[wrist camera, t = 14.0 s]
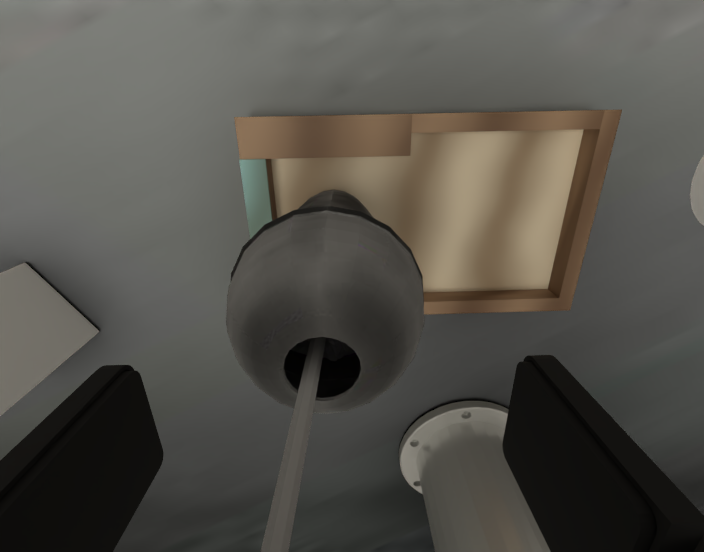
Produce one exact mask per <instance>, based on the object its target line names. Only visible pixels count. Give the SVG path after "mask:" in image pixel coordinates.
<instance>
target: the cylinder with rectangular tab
mask: <svg viewBox="0 0 704 552" xmlns="http://www.w3.org/2000/svg"><path fill="white" fill-rule="evenodd" d="M690 200H691V207H692V211H693V213H694V215H695V216H696V218H697V220H698V222H700V223H701V224H702V225H703V226H704V155H703V157H702V158H701V160H700V162H699V163H698V166H697V169H696V171H695V174H694V176H693V179H692V184H691V192H690Z"/></svg>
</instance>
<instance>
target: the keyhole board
mask: <svg viewBox="0 0 704 552" xmlns="http://www.w3.org/2000/svg"><path fill="white" fill-rule="evenodd" d="M621 112H622V110H583V111H532V112H481V113H429V114H378V115H327V116H275V117H234V119H235V126H236V133H237V140H238V148H239V155H240V160H239V162H240V169H241V176H242V183H243V190H244V198H245V205H246V212H247V219H248V226H249V234H250V239H251V238H252V237H253V236H254V235H255V234H256V233H257V232H258V231H259V230H260V229H261V228H262V227H263V226H264V225H265V224H267V223H269V222H271V221H273V220H275V219H277V218H279V217H281V216H283V215H285V214H287V213H289V212H291V211H293V210H297V209H298V208H299V207H300V206H302V205H303V204H304V203H305V202H306V201H307V200H308V199H309V198H311V197H313V196H314V195H316V194H318V193H320V192H322V191H327V190H334V189H335V190H340V191H345V192H347V193H349V194H351V195H353V196H355V198H357V199H358V200H359V201H360V202H361V203H362V204H363V205H364V206H365V207H366V209H367V210H368V211H369V212H370V214H371V215H372V216H373V218H375V219H377V220H378V221H380V222H382V223H384V224H386V225H388V226H390V227H391V228H392V229H393V231H394V232H395V233H396V234H397V235H398V236H399V237H400V238H401V239H402V240H403V241H404V242H405V243H406V244H407V245H408V246H409V248H410V249H411V250H412V253H413V255H414V257H415V260H416V262H417V264H418V266H419V269H420V271H421V273H422V277H423V294H424V314H456V313H490V312H525V311H560V310H570V308H571V304H572V300H573V297H574V293H575V289H576V285H577V281H578V277H579V273H580V270H581V266H582V262H583V258H584V254H585V250H586V247H587V243H588V239H589V235H590V231H591V227H592V224H593V220H594V216H595V212H596V208H597V204H598V201H599V197H600V193H601V189H602V185H603V181H604V178H605V174H606V170H607V166H608V162H609V158H610V155H611V151H612V147H613V143H614V139H615V135H616V131H617V128H618V124H619V120H620V116H621Z"/></svg>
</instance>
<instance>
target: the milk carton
mask: <svg viewBox="0 0 704 552" xmlns="http://www.w3.org/2000/svg"><path fill="white" fill-rule="evenodd" d="M98 332H99V330H98V329H97V328H95V327H94V326H93V325H92V324H91V323H90V322H89V321H88V320H87V319H86V318H85V317H84V316H83V315H82V314H80V313H79V312H78V311H77V310H76V309H75V308H74V307H73V306H72V305H71V304H70V303H69V302H68V301H66V300H65V299H64V298H63V297H62V296H61V295H60V294H59V293H58V292H57V291H56V290H55V289H54V288H52V287H51V286H50V285H49V284H48V283H47V282H46V281H45V280H44V279H43V278H42V277H41V276H39V275H38V274H37V273H36V272H35V271H34V270H33V269H32V268H31V267H30V266H29V265H28V264H26V263H22V264H20V265H18V266H15V267H13V268H11V269H8V270H6V271H4V272H1V273H0V416H1V415H2V414H4V413H5V412H6V411H7V410H8V409H9V408H11V407H12V406H13V405H14V404H15V403H16V402H18V401H19V400H20V399H21V398H22V397H23V396H25V395H26V394H27V393H28V392H29V391H31V390H32V389H33V388H34V387H35V386H36V385H38V384H39V383H40V382H41V381H42V380H43V379H45V378H46V377H47V376H48V375H49V374H50V373H52V372H53V371H54V370H55V369H56V368H58V367H59V366H60V365H61V364H62V363H63V362H65V361H66V360H67V359H68V358H69V357H70V356H72V355H73V354H74V353H75V352H76V351H78V350H79V349H80V348H81V347H82V346H83V345H85V344H86V343H87V342H88V341H89V340H90V339H92V338H93V337H94V336H95V335H96V334H97V333H98Z"/></svg>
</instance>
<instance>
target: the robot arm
mask: <svg viewBox="0 0 704 552" xmlns="http://www.w3.org/2000/svg"><path fill="white" fill-rule="evenodd" d="M162 461H163V449H162V446H161V442H160V439H159V436H158V432H157V429H156V426H155V422H154V419H153V415H152V412H151V409H150V405H149V402H148V399H147V395H146V392H145V389H144V385H143V382H142V379H141V375H140V373H139V372H138V371H134V369H133V368H132V367H131V366H129V365H106V366H102V367H100V368H99V369H98V370H97V371H95V372H94V373H93V374H92V375H91V376H90V377H89V378H88V379H87V380H86V381H85V382H84V383H83V384H82V385H81V386H79V387H78V388H77V389H76V390H75V391H74V392H73V393H72V394H71V395H70V396H69V397H68V398H67V399H66V400H65V401H63V402H62V403H61V404H60V405H59V406H58V407H57V408H56V409H55V410H54V411H53V412H52V413H51V414H50V415H49V416H47V417H46V418H45V419H44V420H43V421H42V422H41V423H40V424H39V425H38V426H37V427H36V428H35V429H34V430H33V431H31V432H30V433H29V434H28V435H27V436H26V437H25V438H24V439H23V440H22V441H21V442H20V443H19V444H18V445H17V446H15V447H14V448H13V449H12V450H11V451H10V452H9V453H8V454H7V455H6V456H5V457H4V458H3V459H2V460H1V461H0V552H113V550H114V548H115V547H116V545H117V543H118V541H119V540H120V538H121V536H122V534H123V532H124V531H125V529H126V527H127V525H128V524H129V522H130V520H131V518H132V517H133V515H134V513H135V511H136V509H137V508H138V506H139V504H140V502H141V501H142V499H143V497H144V495H145V493H146V492H147V490H148V488H149V486H150V485H151V483H152V481H153V479H154V477H155V476H156V474H157V472H158V470H159V469H160V466H161V464H162ZM399 461H400V467H401V471H402V474H403V476H404V478H405V480H406V481H407V482H408V483H409V485H410V486H411V487H412V488H414V489H415V490H417V491H418V492H420V493H421V494H423V498H424V502H425V507H426V511H427V516H428V521H429V525H430V530H431V534H432V539H433V544H434V548H435V552H704V516H703V515H702V514H701V512H700V511H699V510H698V509H697V508H696V507H695V506H694V505H693V504H692V503H691V502H690V501H689V500H688V499H687V498H686V496H685V495H684V494H683V493H682V492H681V491H680V490H679V489H678V488H677V487H676V486H675V485H674V484H673V483H672V482H671V480H670V479H669V478H668V477H667V476H666V475H665V474H664V473H663V472H662V471H661V470H660V469H659V468H658V467H657V465H656V464H655V463H654V462H653V461H652V460H651V459H650V458H649V457H648V456H647V455H646V454H645V453H644V452H643V451H642V449H641V448H640V447H639V446H638V445H637V444H636V443H635V442H634V441H633V440H632V439H631V438H630V437H629V436H628V435H627V433H626V432H625V431H624V430H623V429H622V428H621V427H620V426H619V425H618V424H617V423H616V422H615V421H614V420H613V419H612V417H611V416H610V415H609V414H608V413H607V412H606V411H605V410H604V409H603V408H602V407H601V406H600V405H599V404H598V403H597V401H596V400H595V399H594V398H593V397H592V396H591V395H590V394H589V393H588V392H587V391H586V390H585V389H584V388H583V387H582V385H581V384H580V383H579V382H578V381H577V380H576V379H575V378H574V377H573V376H572V375H571V374H570V373H569V372H568V370H567V369H566V368H565V367H564V366H563V365H562V364H561V363H560V362H559V361H558V360H557V359H556V358H555V357H554V356H551V355H535V356H526V357H525V359H524V361H523V362H519V363H518V365H517V368H516V374H515V379H514V384H513V390H512V395H511V400H510V405H509V410H508V409H507V408H505V407H503V406H500V405H497V404H494V403H491V402H484V401H462V402H455V403H451V404H448V405H444V406H441V407H439V408H437V409H434V410H432V411H430V412H428V413H427V414H425V415H424V416H422V417H421V418H419V419H418V420H417V421H416V422H415V423H414V424H413V425H412V426H411V427H410V428H409V429H408V431H407V432H406V433H405V435H404V437H403V439H402V441H401V444H400V449H399Z"/></svg>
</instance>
